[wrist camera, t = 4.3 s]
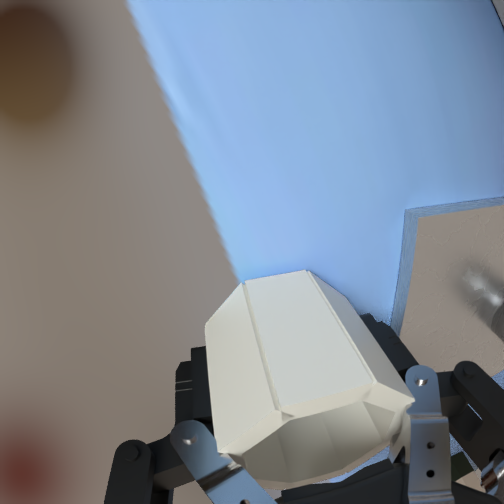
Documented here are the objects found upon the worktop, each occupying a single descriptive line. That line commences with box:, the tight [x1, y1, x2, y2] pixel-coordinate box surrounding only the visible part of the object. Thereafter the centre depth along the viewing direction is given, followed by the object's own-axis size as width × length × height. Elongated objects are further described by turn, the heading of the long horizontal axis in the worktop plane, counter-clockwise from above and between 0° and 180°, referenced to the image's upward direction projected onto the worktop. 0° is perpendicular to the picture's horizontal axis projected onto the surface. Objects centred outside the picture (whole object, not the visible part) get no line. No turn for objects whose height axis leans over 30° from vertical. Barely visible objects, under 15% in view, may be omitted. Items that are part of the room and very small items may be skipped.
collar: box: [205, 270, 415, 490], centre depth 11 cm, size 6×6×6 cm
